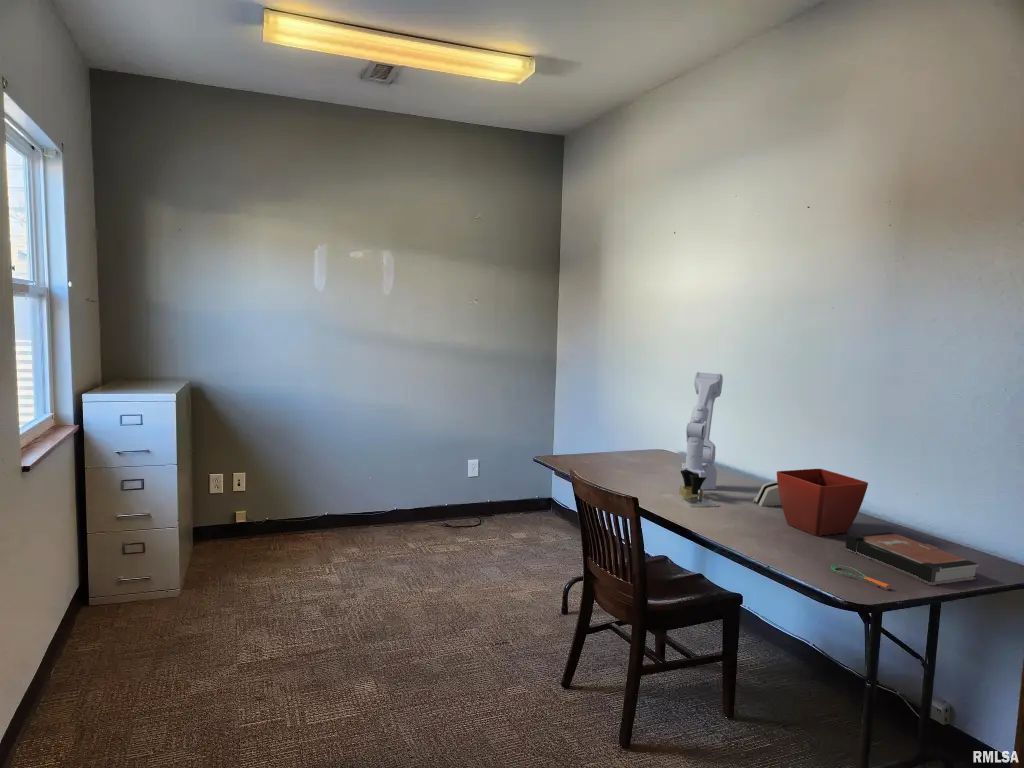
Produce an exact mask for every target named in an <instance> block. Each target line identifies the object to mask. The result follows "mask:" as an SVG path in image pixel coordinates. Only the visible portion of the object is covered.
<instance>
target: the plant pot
mask: <svg viewBox="0 0 1024 768" xmlns="http://www.w3.org/2000/svg"><path fill="white" fill-rule="evenodd" d="M776 481H777V483H778V490H779V495H780V500H781V504H782V506H781V507H782V511H783V514H784V518H785V520H786V523H787V525H788V526H791V527H793V528H795V527H796V529H798V530H800V529H801V530H800V531H803V532H805V531H806V532H805V533H807V532H809V533H808V534H810V533H811V535H812V534H814V535H813V536H815V535H816V536H815V537H823V536H822V535H826V536H832V535H831V534H835V535H838V534H837V533H843V534H846V533H845V532H847V533H848V532H849V530H850V529H851V527H852V526H853V524H854V522H855V520H856V518H857V515H858V513H859V511H860V510H861V506H862V505H863V501H864V499H865V496H866V493H867V490H868V489H867V488H868V486H869V482H867V481H865V480H861V479H858V478H854V477H850V476H847V475H844V474H840V473H838V472H833V471H830V470H827V469H823V468H805V469H793V470H778V471H776ZM829 534H830V535H829Z"/></svg>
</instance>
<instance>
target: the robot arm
mask: <svg viewBox="0 0 1024 768" xmlns="http://www.w3.org/2000/svg"><path fill="white" fill-rule="evenodd" d="M723 377H724V376H723V375H722V373H710V372H699V371H697V372H696V373H695V375H694V389H695V393H696V395H697V401H696V402H697V404H696V405H695V406H694V407H692V412H691V416H690V419H689V420H690V421H689V422H688V423H687V426H686V429H685V433H686V434H685V435H686V440H685V441H686V456H685V462H681V469H683V470H680V473H681V476H682V479H683V484H684V486H692V494H694V495H695V494H698V489H700V488H702V489H704V490H717V475H718V471H717V468H716V466H715V465H714V464H715V460H716V450H717V449H716V444H715V443H714V442H713V441H712V440H711V439H710V435H711V427H712V420H713V419H712V418H713V414H714V413H713V411H714V404H715V401H716V398H719V397H721V394H722V389H723V380H724V379H723Z"/></svg>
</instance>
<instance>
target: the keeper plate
mask: <svg viewBox="0 0 1024 768" xmlns="http://www.w3.org/2000/svg"><path fill="white" fill-rule="evenodd" d="M702 495H703V490H702V489H698V497H697V498H685V497H683V498H681V502H682V501H683V502H682V503H684V504H685V503H686V505H687V506H688V507H690V508H691V507H692V508H698V507H699V508H701V507H705V508H706V507H707V508H708V507H709V508H711V507H715V506H716V507H718V505H719V504H718V503H717V502H716V501H714V500H712V499H710V498H709V497H704V498H702Z"/></svg>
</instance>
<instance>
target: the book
mask: <svg viewBox="0 0 1024 768" xmlns="http://www.w3.org/2000/svg"><path fill="white" fill-rule="evenodd" d="M845 539H846V541H845V548H847V549H850V550H852V551H854V552H856V551H857V552H859V553H861V554H864V555H866V556H869V557H871V558H874V559H877V560H879V561H882V562H884V563H886V564H889V565H892V566H894V567H896V568H899V569H901V570H904V571H906V572H909V573H911V574H913V575H916V576H918V577H919V578H921V579H923V580H926V581H928V582H932V583H933V582H935V581H942V580H950V579H955V578H962V577H969V576H975V577H976V571H977V568H979V567H980V564H979V563H976V562H974V561H971V560H968V559H965V558H963V557H960V556H957V555H954V554H952V553H950V552H946V551H943V550H940V549H939V547H938V546H936V545H933V544H929V543H921V542H919V541H916V540H913V539H910V538H908V537H905V536H902V535H900V534H896V533H894V532H891V531H888V532H876V533H868V534H867V533H865V534H857V533H850V534H847V533H846V538H845Z"/></svg>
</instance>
